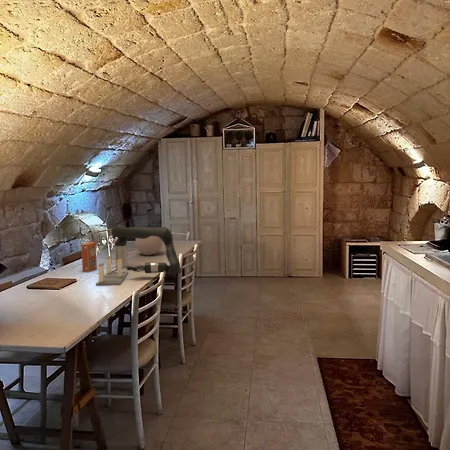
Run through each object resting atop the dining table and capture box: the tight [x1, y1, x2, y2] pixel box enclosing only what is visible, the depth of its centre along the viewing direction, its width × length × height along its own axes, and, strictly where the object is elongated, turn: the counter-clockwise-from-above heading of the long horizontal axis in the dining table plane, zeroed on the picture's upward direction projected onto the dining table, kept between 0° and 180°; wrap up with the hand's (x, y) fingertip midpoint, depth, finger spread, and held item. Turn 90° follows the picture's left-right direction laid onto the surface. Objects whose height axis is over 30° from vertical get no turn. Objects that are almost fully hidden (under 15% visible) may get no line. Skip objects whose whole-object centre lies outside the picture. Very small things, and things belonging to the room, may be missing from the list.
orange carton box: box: [80, 241, 98, 273], centre depth 331 cm, size 21×7×15 cm
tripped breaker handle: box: [116, 259, 123, 277], centre depth 301 cm, size 3×5×12 cm, turn 4°
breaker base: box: [95, 255, 129, 287], centre depth 301 cm, size 16×35×14 cm, turn 4°
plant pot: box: [135, 223, 163, 256], centre depth 393 cm, size 24×24×30 cm
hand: (127, 268), depth 301 cm, fingers closed
